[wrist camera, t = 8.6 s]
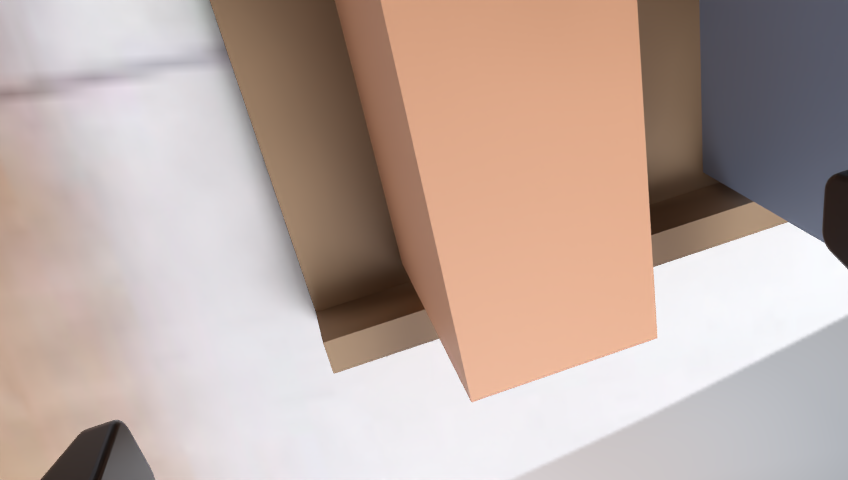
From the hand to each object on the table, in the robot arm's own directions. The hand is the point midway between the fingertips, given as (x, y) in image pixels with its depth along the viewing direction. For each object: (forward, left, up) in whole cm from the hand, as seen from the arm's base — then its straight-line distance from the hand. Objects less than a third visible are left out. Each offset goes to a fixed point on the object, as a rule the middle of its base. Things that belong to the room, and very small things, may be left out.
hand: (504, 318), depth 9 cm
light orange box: (+2, 0, -10) cm, 10 cm away
